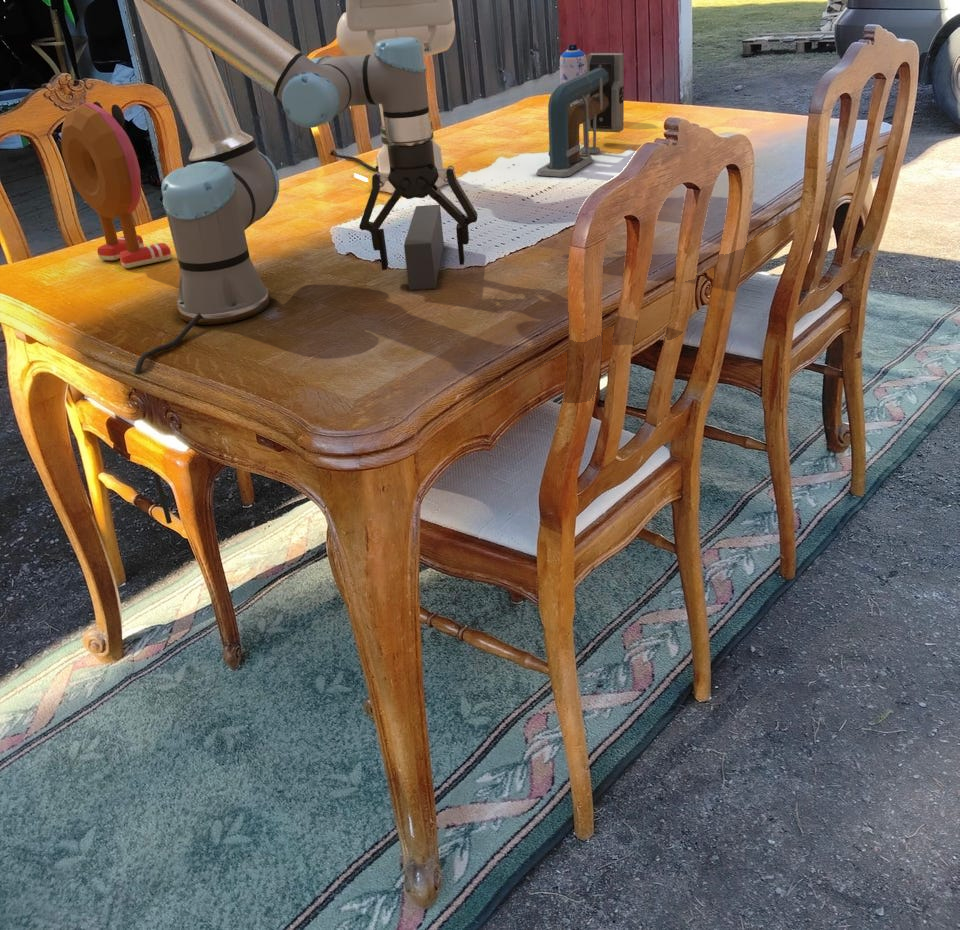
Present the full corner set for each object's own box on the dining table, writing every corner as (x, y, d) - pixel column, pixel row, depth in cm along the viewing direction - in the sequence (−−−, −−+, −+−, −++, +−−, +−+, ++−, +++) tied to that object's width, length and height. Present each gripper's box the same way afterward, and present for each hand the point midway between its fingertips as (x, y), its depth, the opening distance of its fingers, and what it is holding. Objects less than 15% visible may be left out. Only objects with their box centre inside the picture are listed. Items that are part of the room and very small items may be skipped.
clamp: (567, 177, 223) (565, 79, 213) (533, 175, 227) (529, 78, 216) (623, 141, 249) (623, 53, 238) (592, 140, 253) (590, 53, 242)
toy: (184, 259, 191) (146, 100, 176) (138, 275, 185) (94, 111, 170) (129, 242, 204) (90, 93, 189) (85, 256, 198) (40, 102, 183)
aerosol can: (559, 122, 275) (557, 47, 265) (562, 117, 282) (559, 42, 272) (587, 121, 274) (585, 45, 263) (589, 115, 280) (587, 41, 270)
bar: (435, 288, 167) (430, 243, 163) (409, 290, 167) (403, 244, 163) (444, 245, 187) (440, 204, 183) (420, 247, 187) (415, 206, 183)
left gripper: (485, 129, 161) (494, 253, 172) (338, 141, 163) (356, 262, 174) (484, 139, 155) (494, 267, 166) (331, 151, 156) (350, 276, 167)
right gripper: (452, -33, 181) (458, 47, 188) (344, -24, 182) (354, 55, 189) (450, -30, 175) (457, 52, 182) (339, -21, 177) (350, 60, 184)
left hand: (423, 265), depth 170 cm, fingers open, 13 cm apart
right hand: (404, 53), depth 186 cm, fingers open, 8 cm apart
